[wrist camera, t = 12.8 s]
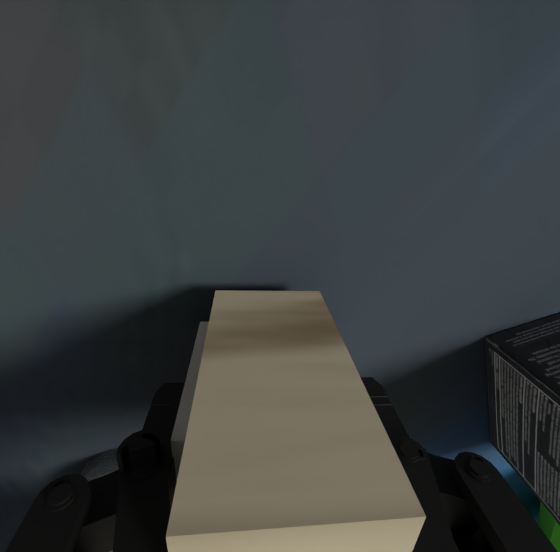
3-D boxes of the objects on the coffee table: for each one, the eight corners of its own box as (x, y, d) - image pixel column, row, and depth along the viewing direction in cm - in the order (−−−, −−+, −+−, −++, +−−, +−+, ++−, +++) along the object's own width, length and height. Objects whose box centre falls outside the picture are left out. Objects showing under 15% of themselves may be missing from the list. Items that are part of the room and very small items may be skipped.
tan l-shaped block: (215, 290, 15) (165, 536, 6) (319, 291, 15) (425, 516, 6) (222, 545, 23) (207, 810, 14) (289, 540, 24) (316, 791, 15)
